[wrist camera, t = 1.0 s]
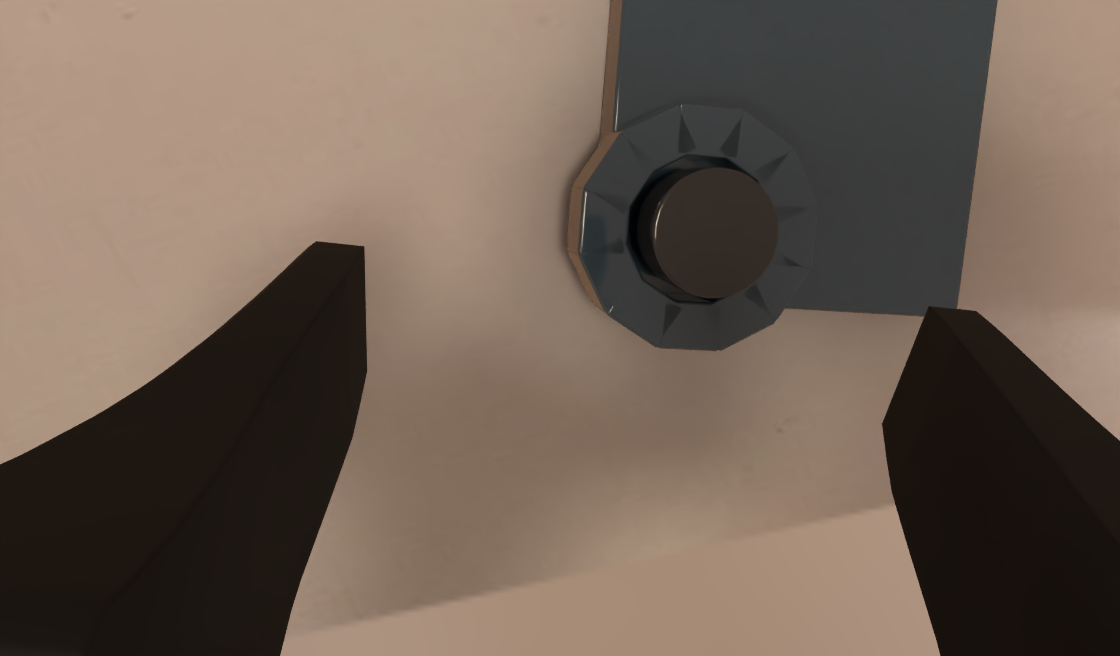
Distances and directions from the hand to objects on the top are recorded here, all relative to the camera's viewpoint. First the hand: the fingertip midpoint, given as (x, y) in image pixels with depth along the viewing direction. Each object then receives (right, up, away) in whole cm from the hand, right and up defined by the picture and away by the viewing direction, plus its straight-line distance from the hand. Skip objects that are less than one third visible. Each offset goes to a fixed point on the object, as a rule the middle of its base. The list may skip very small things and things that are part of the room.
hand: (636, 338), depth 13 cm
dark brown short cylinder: (+2, +3, +12) cm, 12 cm away
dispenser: (+5, +6, +15) cm, 17 cm away
